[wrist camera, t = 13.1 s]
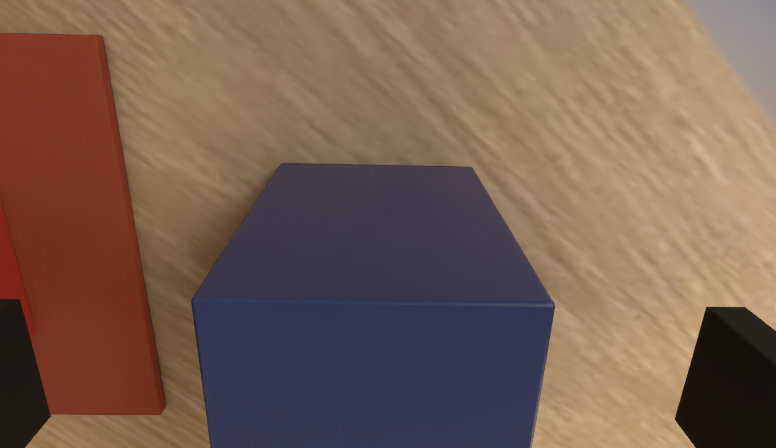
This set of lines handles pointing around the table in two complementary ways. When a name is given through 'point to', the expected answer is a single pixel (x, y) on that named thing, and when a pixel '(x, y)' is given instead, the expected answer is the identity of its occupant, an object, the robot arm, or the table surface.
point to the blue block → (372, 316)
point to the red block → (12, 273)
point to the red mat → (75, 227)
